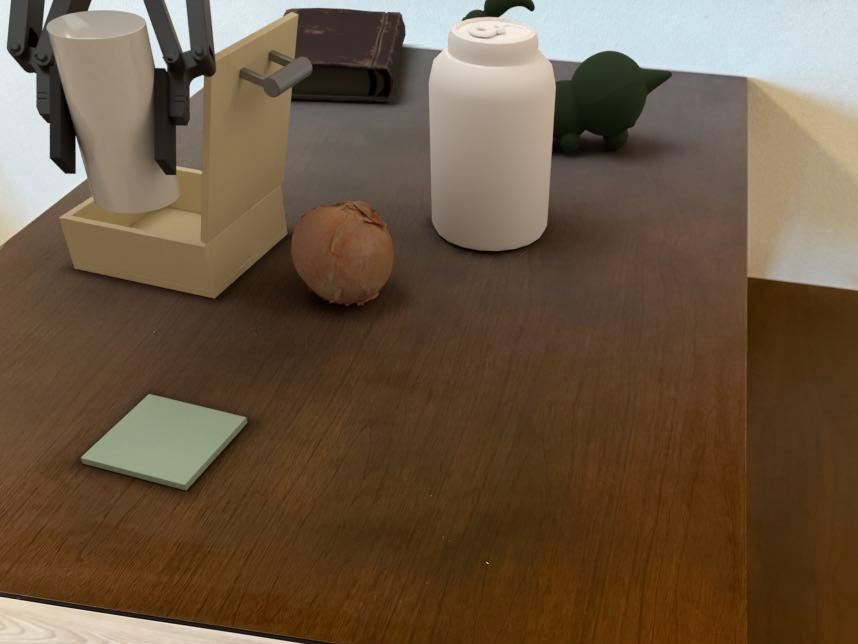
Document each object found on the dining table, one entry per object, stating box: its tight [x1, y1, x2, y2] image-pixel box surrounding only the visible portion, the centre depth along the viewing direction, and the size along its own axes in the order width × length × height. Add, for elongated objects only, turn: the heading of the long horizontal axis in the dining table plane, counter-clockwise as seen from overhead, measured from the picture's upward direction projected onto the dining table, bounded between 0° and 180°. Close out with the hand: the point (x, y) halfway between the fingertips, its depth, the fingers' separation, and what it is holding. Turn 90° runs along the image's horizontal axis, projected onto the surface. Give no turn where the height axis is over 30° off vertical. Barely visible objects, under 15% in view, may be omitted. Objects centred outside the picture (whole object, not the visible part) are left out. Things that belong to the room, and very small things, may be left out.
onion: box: [290, 199, 395, 307], centre depth 90 cm, size 10×9×10 cm
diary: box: [282, 7, 407, 103], centre depth 137 cm, size 19×25×5 cm
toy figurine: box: [461, 0, 673, 152], centre depth 116 cm, size 9×19×25 cm
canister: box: [46, 9, 181, 214], centre depth 70 cm, size 6×6×12 cm
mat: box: [80, 393, 248, 491], centre depth 75 cm, size 9×9×1 cm
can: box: [428, 16, 556, 252], centre depth 98 cm, size 12×12×20 cm
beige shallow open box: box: [58, 165, 288, 299], centre depth 96 cm, size 16×15×5 cm
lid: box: [200, 12, 312, 244], centre depth 87 cm, size 16×15×4 cm
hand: (114, 166), depth 69 cm, fingers closed on canister, 6 cm apart
